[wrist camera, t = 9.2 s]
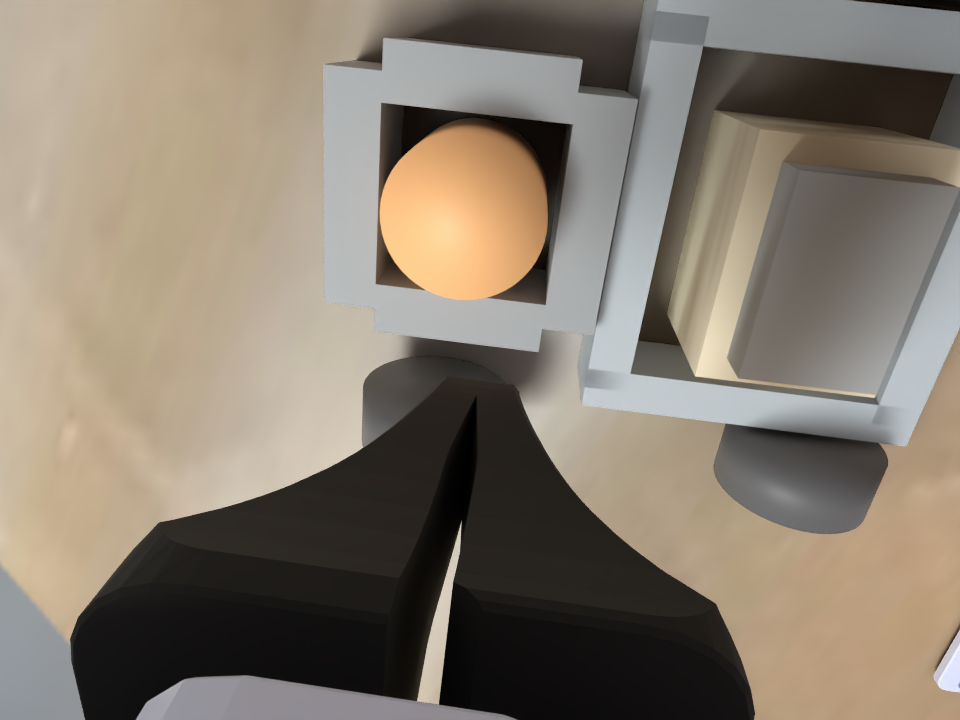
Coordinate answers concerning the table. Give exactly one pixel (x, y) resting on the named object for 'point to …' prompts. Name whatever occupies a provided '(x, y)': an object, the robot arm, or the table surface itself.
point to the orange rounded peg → (466, 210)
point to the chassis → (637, 238)
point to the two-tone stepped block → (807, 250)
